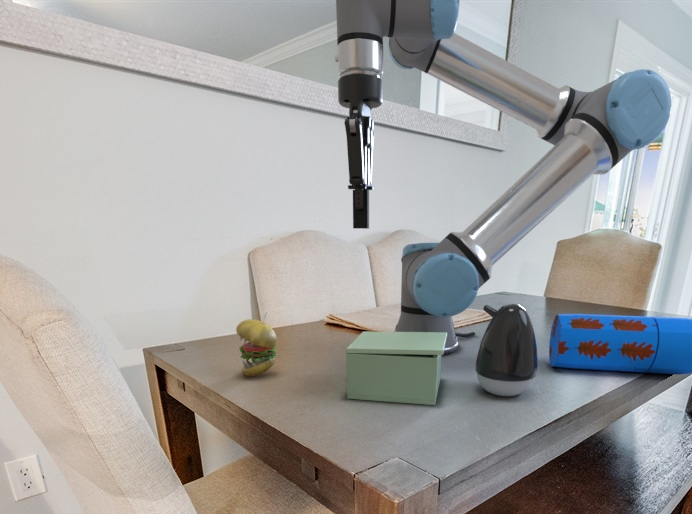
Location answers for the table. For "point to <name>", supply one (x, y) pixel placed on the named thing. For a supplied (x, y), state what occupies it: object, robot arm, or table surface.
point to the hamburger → (257, 346)
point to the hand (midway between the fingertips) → (361, 228)
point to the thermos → (621, 343)
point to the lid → (399, 343)
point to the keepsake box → (393, 377)
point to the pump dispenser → (507, 352)
